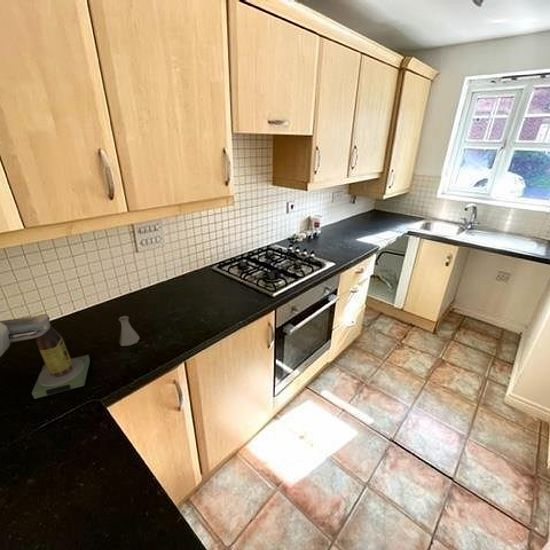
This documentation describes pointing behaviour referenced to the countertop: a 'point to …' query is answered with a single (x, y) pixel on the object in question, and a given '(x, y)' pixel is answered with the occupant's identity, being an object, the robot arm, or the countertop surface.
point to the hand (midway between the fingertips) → (4, 322)
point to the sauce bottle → (54, 352)
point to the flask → (127, 333)
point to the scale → (62, 378)
